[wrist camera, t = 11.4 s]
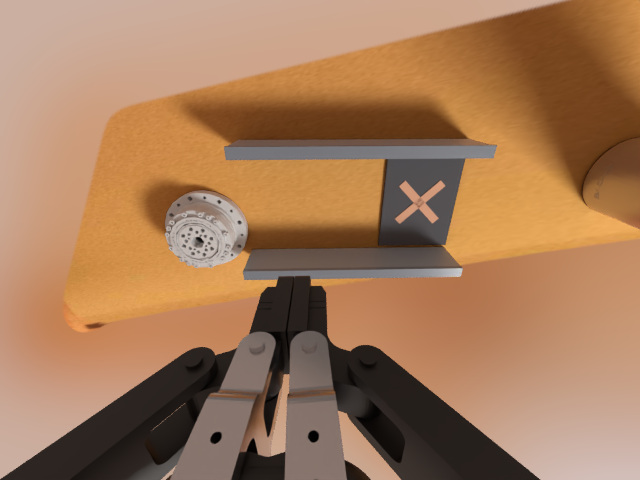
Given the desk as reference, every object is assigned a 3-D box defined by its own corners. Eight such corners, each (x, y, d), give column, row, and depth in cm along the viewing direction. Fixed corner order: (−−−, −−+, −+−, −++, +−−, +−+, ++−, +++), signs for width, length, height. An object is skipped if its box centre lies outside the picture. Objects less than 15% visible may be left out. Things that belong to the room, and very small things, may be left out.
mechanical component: (184, 174, 33) (160, 239, 37) (166, 184, 29) (142, 256, 33) (261, 213, 36) (231, 270, 39) (254, 227, 32) (222, 289, 36)
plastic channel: (468, 137, 32) (496, 145, 27) (441, 253, 39) (460, 276, 34) (237, 138, 31) (223, 146, 26) (253, 256, 38) (244, 279, 33)
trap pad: (465, 152, 32) (466, 152, 32) (444, 243, 38) (445, 244, 38) (387, 152, 32) (388, 153, 32) (378, 244, 38) (378, 245, 37)
